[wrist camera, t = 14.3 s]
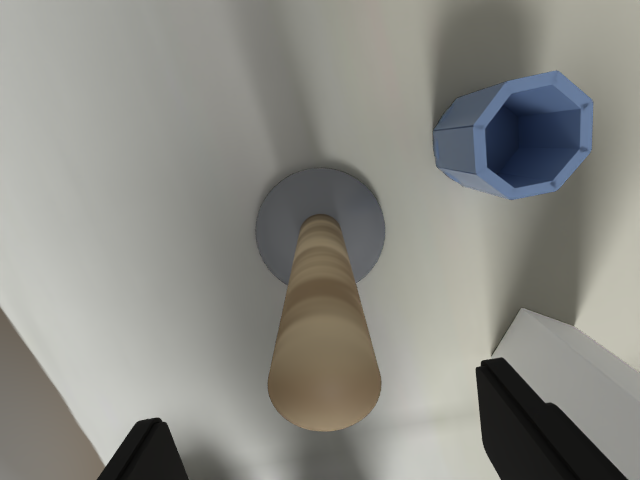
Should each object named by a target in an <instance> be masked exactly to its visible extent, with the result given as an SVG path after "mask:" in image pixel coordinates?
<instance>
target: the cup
mask: <svg viewBox="0 0 640 480" xmlns="http://www.w3.org/2000/svg"><path fill="white" fill-rule="evenodd" d="M592 124H593V102H592V99H591V98H590V97H588V96H587V95H586V94H585V93H584V92H583V91H581V90H580V89H579V88H578V87H577V86H576V85H574V84H573V83H572V82H571V81H570V80H569V79H567V78H566V77H565V76H564V75H563V74H562V73H560V72H559V71H557V70H556V71H552V72H547V73H542V74H538V75H533V76H529V77H524V78H519V79H515V80H510V81H506V82H503V83H500V84H497V85H494V86H491V87H488V88H485V89H482V90H479V91H476V92H473V93H470V94H467V95H464V96H461V97H458V98H456V99H455V101H454V102H453V103H452V105H451V106H450V107H449V108H448V109H447V110H446V111H445V113H444V114H443V115H442V117H441V118H440V120H439V122H438V124H437V126H436V127H435V128H434V131H433V138H434V140H433V150H434V156H435V159H436V166H437V168H438V169H440V170H441V171H442V172H443V173H444V174H445V175H446V176H448V177H449V178H450V179H452V180H453V181H456V182H458V183H459V184H460V185H462V186H464V187H467V188H471V189H474V190H478V191H481V192H485V193H488V194H492V195H495V196H499V197H502V198H506V199H509V200H514V199H519V198H524V197H529V196H534V195H539V194H544V193H550V192H555V191H556V190H558V189H559V188H560V187H561V186H562V185H563V184H564V182H565V181H566V180H567V179H568V178H569V177H570V176H571V174H572V173H573V172H574V171H575V170H576V169H577V167H578V166H579V165H580V164H581V163H582V162H583V160H584V159H585V158H586V157H587V156H588V155H589V154H590V151H591V150H592Z"/></svg>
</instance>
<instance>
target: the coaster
mask: <svg viewBox="0 0 640 480" xmlns="http://www.w3.org/2000/svg"><path fill="white" fill-rule="evenodd" d="M316 214H326V215H329V216H331V217H333V218H334V219H335V220H336V221H337V222H338V223H339V225H340V227H341V231H342V234H343V238H344V242H345V246H346V249H347V253H348V257H349V260H350V264H351V268H352V272H353V275H354V279H355V283H357V282H358V281H360V280H361V279H362V278H364V277H365V276H366V275H367V274H368V273H369V272H370V270H371V269H372V268H373V267H374V265H375V264H376V262H377V260H378V258H379V256H380V254H381V251H382V249H383V245H384V240H385V222H384V217H383V213H382V211H381V208H380V205H379V204H378V202H377V200H376V198H375V197H374V195H373V194H372V193H371V191H370V190H369V189H368V188H367V187H366V186H365V185H364V184H362V183H361V182H360V181H359V180H357V179H356V178H354V177H353V176H351V175H349V174H347V173H344V172H342V171H338V170H335V169H328V168H313V169H306V170H303V171H299V172H297V173H294V174H292V175H290V176H288V177H287V178H285V179H283V180H282V181H281V182H280V183H278V184H277V185H276V186H275V187H274V188H273V189H272V190H271V191H270V193H269V194H268V195H267V197H266V198H265V200H264V202H263V204H262V205H261V208H260V210H259V213H258V217H257V222H256V241H257V246H258V249H259V252H260V255H261V257H262V259H263V261H264V263H265V264H266V266H267V267H268V269H269V270H270V271H271V272H272V273H273V274H274V275H275V276H276V277H277V278H278V279H279V280H281V281H282V282H284V283H285V284H287V285H288V283H289V279H290V274H291V269H292V265H293V260H294V255H295V251H296V246H297V241H298V237H299V232H300V228H301V226H302V224H303V222H304V221H305V220H306V219H307V218H309V217H310V216H313V215H316Z"/></svg>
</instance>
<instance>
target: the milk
mask: <svg viewBox="0 0 640 480" xmlns="http://www.w3.org/2000/svg"><path fill="white" fill-rule="evenodd" d="M500 357H502V358H504V359H505V360H506V361H507V362H508V363H509V364H510V365H511V366H512V367H513V368H514V369H515V371H516V372H517V373H518V374H519V375H520V376H521V377H522V378H523V379H524V380H525V381H526V383H527V384H528V385H529V386H530V387H531V388H532V389H533V390H534V391H535V392H536V393H537V395H538V396H539V397H540V398H541V399H542V400H543V401H544V402H545V403H549V402H551V403H553V404H555V405H557V406H558V407H559V408H560V409H561V410H562V411H563V412H564V413H565V414H566V415H567V416H568V417H569V418H570V419H571V420H572V421H573V422H574V424H575V425H576V426H577V427H578V428H579V429H580V430H581V431H582V432H583V433H584V434H585V435H586V436H587V437H588V438H589V439H590V440H591V441H592V442H593V443H594V444H595V445H596V446H597V448H598V449H599V450H600V451H601V452H602V453H603V454H604V455H605V456H606V457H607V458H608V459H609V460H610V461H611V462H612V463H613V464H614V465H615V466H616V467H617V468H618V469H619V471H620V472H621V473H622V474H623V475H624V476H625V477H626V478H627V479H628V480H640V372H638V371H637V370H636V369H634V368H633V367H631V366H630V365H629V364H627V363H626V362H624V361H623V360H621V359H620V358H619V357H617V356H616V355H614V354H613V353H612V352H610V351H609V350H607V349H606V348H605V347H603V346H602V345H600V344H599V343H597V342H596V341H595V340H593V339H592V338H590V337H589V336H588V335H586V334H585V333H583V332H582V331H581V330H579V329H578V328H576V327H575V326H572V325H569V324H566V323H564V322H561V321H558V320H555V319H552V318H550V317H547V316H544V315H541V314H539V313H536V312H533V311H530V310H527V309H525V308H521V309H520V311H519V312H518V314H517V316H516V317H515V319H514V321H513V322H512V324H511V326H510V327H509V329H508V330H507V332H506V334H505V335H504V337H503V339H502V340H501V342H500V344H499V345H498V347H497V348H496V350H495V352H494V353H493V355H492V357H491V358H492V359H494V358H500Z"/></svg>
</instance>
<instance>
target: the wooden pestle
mask: <svg viewBox="0 0 640 480" xmlns="http://www.w3.org/2000/svg"><path fill="white" fill-rule="evenodd" d="M268 392H269V397H270V399H271V402H272V404H273V405H274V407H275V408H276V410H277V411H278V412H279V413H280V414H281V415H282V416H283V417H284V418H285V419H286V420H288V421H289V422H291V423H293V424H294V425H297V426H299V427H301V428H304V429H308V430H313V431H336V430H340V429H344V428H347V427H349V426H352V425H354V424H356V423H357V422H359V421H361V420H362V419H363V418H364V417H366V416H367V415H368V414H369V413H370V412H371V410H372V409H373V408H374V406H375V405H376V403H377V401H378V398H379V396H380V392H381V376H380V372H379V368H378V365H377V361H376V357H375V353H374V350H373V346H372V342H371V339H370V335H369V331H368V327H367V324H366V320H365V316H364V313H363V309H362V305H361V301H360V298H359V294H358V290H357V286H356V283H355V279H354V275H353V272H352V268H351V264H350V260H349V257H348V253H347V249H346V246H345V242H344V238H343V234H342V231H341V227H340V225H339V223H338V222H337V221H336V220H335V219H334V218H333V217H331V216H329V215H326V214H316V215H313V216H310V217H309V218H307V219H306V220H305V221H304V222H303V224H302V226H301V228H300V232H299V237H298V241H297V246H296V251H295V255H294V260H293V265H292V269H291V274H290V279H289V283H288V288H287V293H286V297H285V302H284V307H283V311H282V316H281V321H280V325H279V330H278V335H277V339H276V344H275V349H274V353H273V358H272V362H271V367H270V372H269V376H268Z"/></svg>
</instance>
